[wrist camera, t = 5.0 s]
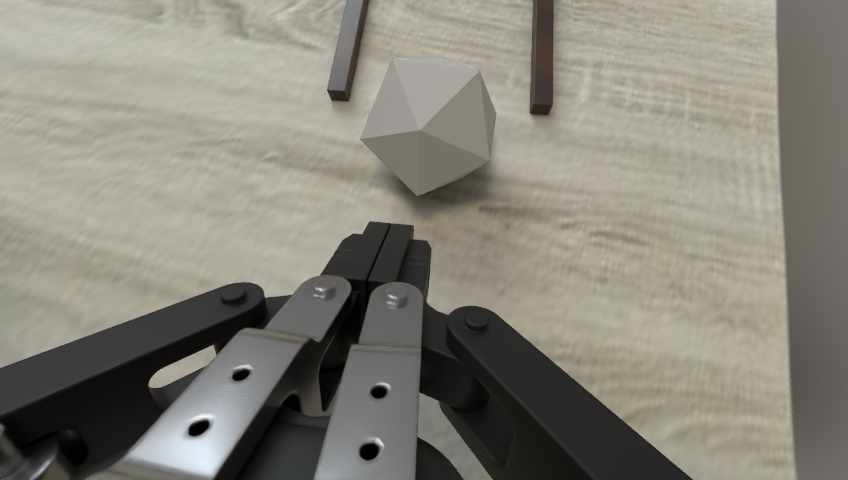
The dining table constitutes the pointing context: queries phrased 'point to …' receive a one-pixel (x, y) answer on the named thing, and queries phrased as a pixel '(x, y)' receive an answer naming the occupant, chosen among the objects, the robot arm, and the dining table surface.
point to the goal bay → (539, 64)
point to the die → (431, 122)
